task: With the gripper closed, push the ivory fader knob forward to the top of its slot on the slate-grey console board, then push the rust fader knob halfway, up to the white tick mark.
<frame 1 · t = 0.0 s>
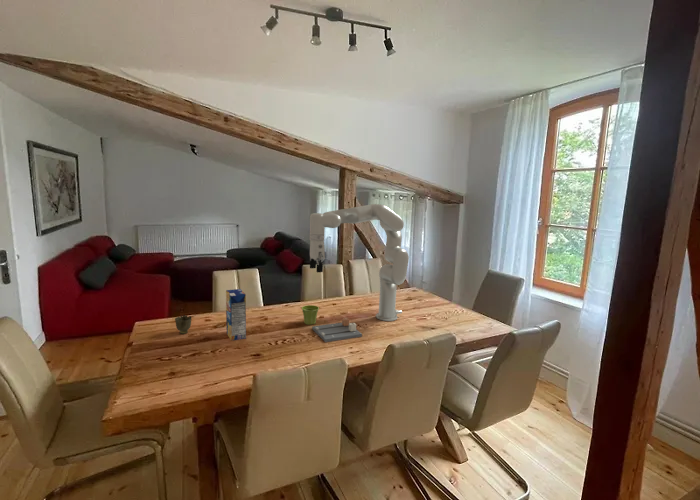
hand: (316, 270, 192), 31 cm above the table, fingers open, 9 cm apart
beverage box: (236, 336, 182), on the table
fader ivory: (352, 326, 190), point 4 cm above the table, slide at 0.0 cm
plant pot: (309, 323, 204), on the table
console: (336, 332, 191), on the table
fader rust: (345, 321, 197), point 4 cm above the table, slide at 0.0 cm
cup: (183, 333, 183), on the table
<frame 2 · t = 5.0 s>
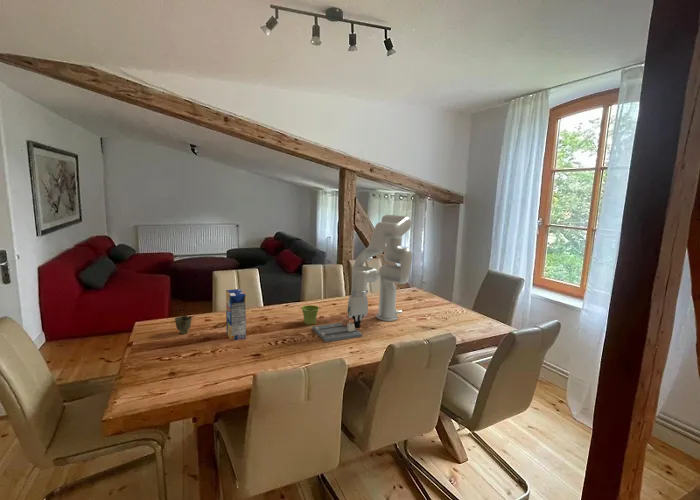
hand: (357, 327, 191), 3 cm above the table, fingers closed
fader ivory: (350, 327, 190), point 4 cm above the table, slide at 0.9 cm, touching gripper
everything else where it was.
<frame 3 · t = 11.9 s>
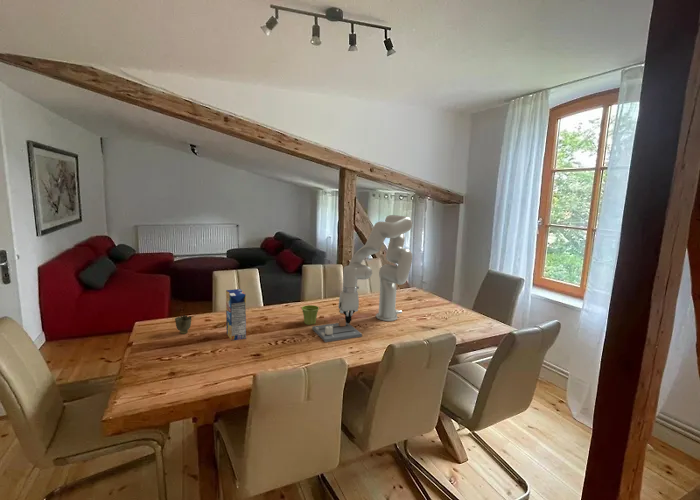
hand: (348, 322, 198), 3 cm above the table, fingers closed
fader ivory: (329, 330, 184), point 4 cm above the table, slide at 13.1 cm
fader rust: (342, 322, 196), point 4 cm above the table, slide at 2.1 cm, touching gripper
everything else where it was.
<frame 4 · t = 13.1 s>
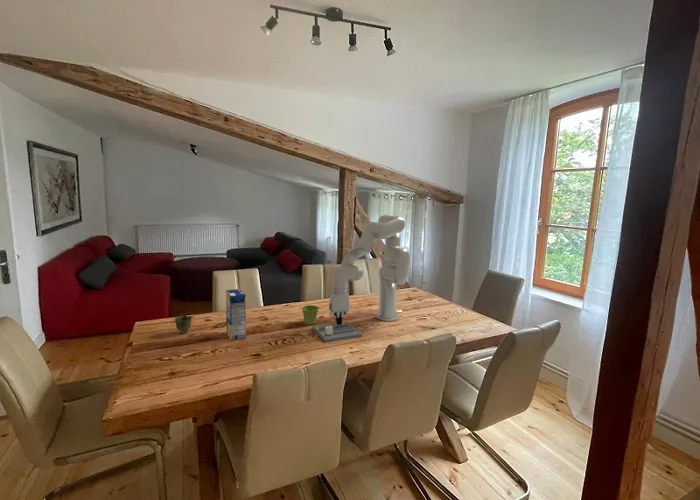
hand: (338, 324, 195), 3 cm above the table, fingers closed
fader rust: (332, 323, 194), point 4 cm above the table, slide at 7.6 cm, touching gripper
everything else where it was.
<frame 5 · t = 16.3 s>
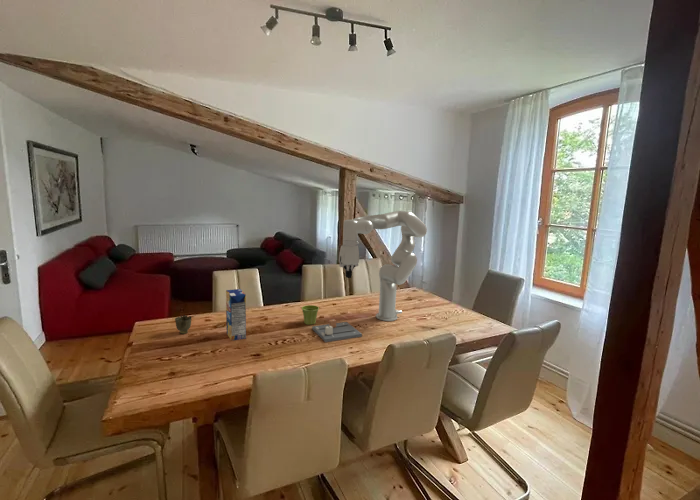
hand: (348, 277, 197), 27 cm above the table, fingers closed
fader rust: (332, 323, 194), point 4 cm above the table, slide at 7.6 cm
everything else where it was.
at the end: fader ivory slide at 13.1 cm; fader rust slide at 7.6 cm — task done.
